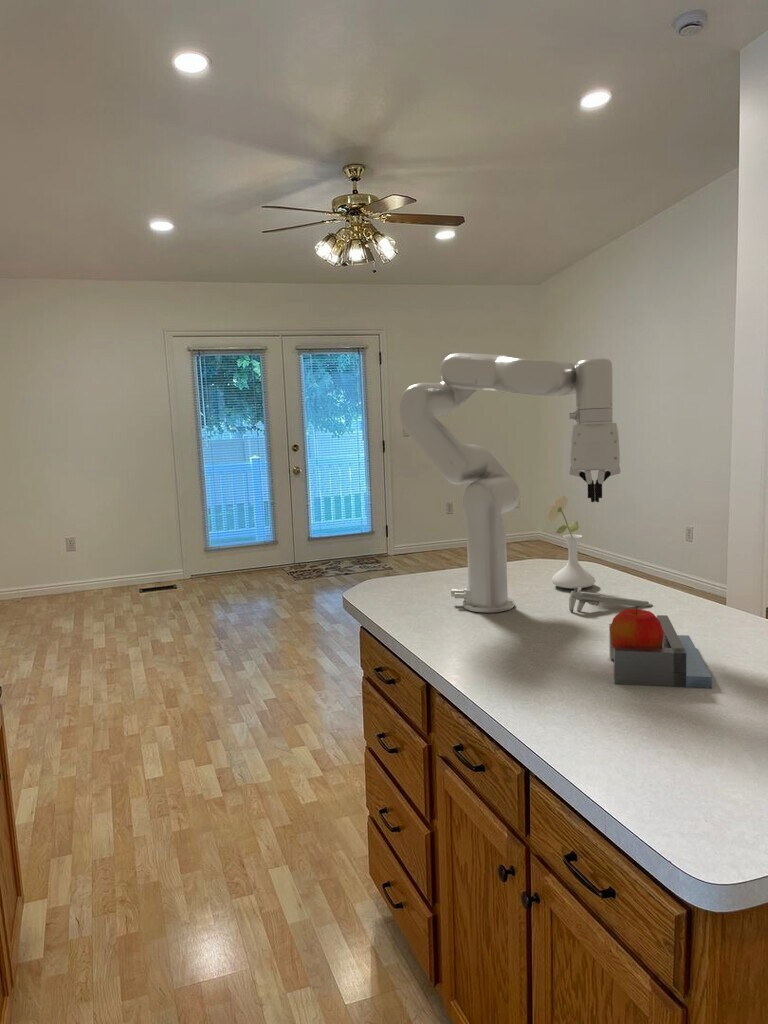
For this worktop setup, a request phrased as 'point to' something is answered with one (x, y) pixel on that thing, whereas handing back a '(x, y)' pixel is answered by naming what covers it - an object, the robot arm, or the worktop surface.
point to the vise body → (662, 662)
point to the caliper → (600, 600)
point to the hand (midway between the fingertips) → (594, 501)
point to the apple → (636, 629)
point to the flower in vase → (572, 571)
